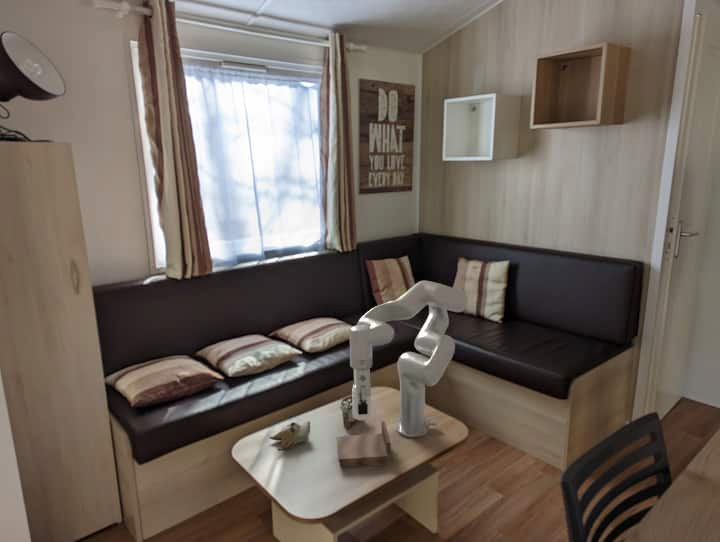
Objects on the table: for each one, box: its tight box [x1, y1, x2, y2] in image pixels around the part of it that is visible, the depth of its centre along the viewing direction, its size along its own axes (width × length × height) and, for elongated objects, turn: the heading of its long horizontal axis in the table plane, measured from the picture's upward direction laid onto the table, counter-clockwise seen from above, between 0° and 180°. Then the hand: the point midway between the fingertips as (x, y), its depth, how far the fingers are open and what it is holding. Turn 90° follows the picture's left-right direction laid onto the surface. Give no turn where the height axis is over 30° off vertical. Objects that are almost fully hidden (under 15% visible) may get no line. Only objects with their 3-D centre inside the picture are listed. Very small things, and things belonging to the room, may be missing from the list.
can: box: [351, 383, 372, 422], centre depth 176 cm, size 6×6×12 cm
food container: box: [339, 395, 361, 431], centre depth 202 cm, size 12×6×10 cm, turn 149°
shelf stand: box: [336, 420, 392, 469], centre depth 180 cm, size 18×14×9 cm
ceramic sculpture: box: [269, 420, 311, 451], centre depth 189 cm, size 11×9×15 cm
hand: (361, 408), depth 177 cm, fingers closed on can, 6 cm apart
